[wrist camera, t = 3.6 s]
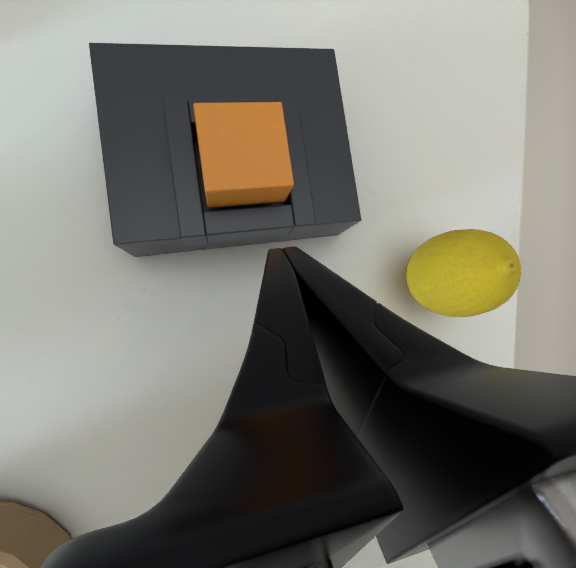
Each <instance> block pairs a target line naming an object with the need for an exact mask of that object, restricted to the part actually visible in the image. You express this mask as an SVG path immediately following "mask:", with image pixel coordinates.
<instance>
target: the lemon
mask: <svg viewBox="0 0 576 568" xmlns="http://www.w3.org/2000/svg"><path fill="white" fill-rule="evenodd" d="M520 277H521V265H520V260H519V258H518V255H517V253H516V252H515V250H514V249H513V247H512V246H511V245H510V244H509V243H508V242H507V241H505V240H504V239H503V238H501V237H499V236H498V235H496V234H494V233H491V232H487V231H482V230H475V229H468V230H454V231H449V232H446V233H443V234H440V235H437V236H435V237H433V238H431V239H429V240H428V241H426V242H425V243H424V244H422V245H421V246H420V247H419V248H418V249H417V250H416V251H415V253H414V254H413V255H412V256H411V258H410V261H409V263H408V266H407V272H406V279H407V285H408V288H409V290H410V292H411V294H412V296H413V297H414V298H415V299H416V301H417V302H418V303H419V304H420V305H422V306H423V307H425V308H426V309H428V310H430V311H432V312H435V313H438V314H441V315H445V316H451V317H468V316H474V315H478V314H482V313H485V312H489V311H492V310H494V309H496V308H498V307H499V306H501V305H502V304H504V303H505V302H506V301H508V300H509V298H510V297H511V296H512V295H513V294H514V292H515V291H516V289H517V287H518V285H519V281H520Z"/></svg>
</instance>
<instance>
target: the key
mask: <svg viewBox="0 0 576 568" xmlns="http://www.w3.org/2000/svg"><path fill="white" fill-rule="evenodd" d="M193 108H194V115H195V122H196V130H197V137H198V144H199V152H200V159H201V166H202V174H203V181H204V188H205V195H206V201H207V206H208V208H214V207H227V206H239V205H252V204H264V203H276V202H284V201H285V200H286V198H287V196H288V195H289V193H290V191H291V189H292V188H293V186H294V181H293V174H292V167H291V161H290V154H289V147H288V141H287V134H286V127H285V121H284V114H283V107H282V103H281V102H233V103H194V104H193Z"/></svg>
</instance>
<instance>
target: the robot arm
mask: <svg viewBox="0 0 576 568" xmlns="http://www.w3.org/2000/svg"><path fill="white" fill-rule="evenodd" d="M375 536H376V538H377V540H378V543H379V545H380V548H381V550H382V553H383V555H384V558H385V560H386V563H387V564H389V563H392V562H395V561H397V560H400V559H403V558H406V557H409V556H411V555H414V554H417V553H420V552H423V551H426V550H428V549H430V551H431V553H432V555H433V558H434V560H435V562H436V564H437V566H438V568H576V376H569V375H560V374H552V373H544V372H535V371H527V370H519V369H511V368H503V367H497V366H493V365H489V364H486V363H483V362H480V361H478V360H475V359H473V358H471V357H469V356H467V355H465V354H463V353H462V352H460V351H458V350H456V349H455V348H453V347H451V346H449V345H447V344H446V343H444V342H442V341H440V340H439V339H437V338H435V337H433V336H431V335H430V334H428V333H426V332H424V331H423V330H421V329H419V328H418V327H416V326H414V325H412V324H411V323H409V322H407V321H406V320H404V319H402V318H401V317H399V316H398V315H396V314H395V313H393V312H392V311H390V310H389V309H387V308H386V307H384V306H383V305H381V304H380V303H377V302H376V301H375V300H374V299H372V298H371V297H369V296H368V295H366V294H365V293H363V292H362V291H361V290H359V289H358V288H356V287H355V286H353V285H352V284H350V283H349V282H347V281H346V280H344V279H343V278H341V277H340V276H339V275H337V274H336V273H334V272H333V271H331V270H330V269H328V268H327V267H325V266H324V265H322V264H321V263H319V262H318V261H317V260H315V259H314V258H312V257H311V256H309V255H308V254H306V253H305V252H303V251H302V250H300V249H299V248H297V247H286V248H283V249H281V248H277V249H270V250H269V251H268V255H267V259H266V264H265V269H264V274H263V279H262V284H261V289H260V294H259V299H258V304H257V309H256V314H255V319H254V324H253V328H252V333H251V337H250V341H249V345H248V349H247V352H246V355H245V358H244V361H243V363H242V366H241V369H240V371H239V374H238V377H237V379H236V382H235V384H234V387H233V389H232V392H231V394H230V397H229V400H228V402H227V405H226V407H225V410H224V412H223V414H222V416H221V419H220V421H219V423H218V425H217V427H216V428H215V430H214V432H213V433H212V435H211V436H210V438H209V439H208V440H207V442H206V443H205V444H204V446H203V447H202V448H201V450H200V451H199V452H198V454H197V455H196V456H195V458H194V459H193V460H192V462H191V463H190V464H189V466H188V467H187V468H186V470H185V471H184V472H183V474H182V475H181V476H180V478H179V479H178V480H177V482H176V483H175V484H174V486H173V487H172V488H171V490H170V491H169V492H168V493H167V495H166V496H165V497H164V498H163V499H162V500H161V501H160V502H159V503H158V504H156V505H155V506H154V507H153V508H151V509H150V510H149V511H147V512H145V513H144V514H142V515H140V516H139V517H137V518H134V519H132V520H129V521H127V522H124V523H121V524H117V525H113V526H110V527H106V528H102V529H99V530H95V531H92V532H89V533H86V534H83V535H80V536H78V537H76V538H73V539H71V540H69V541H67V542H65V543H64V544H62V545H60V546H59V547H57V548H56V549H55V550H54V551H53V552H52V553H50V554H49V556H48V557H47V558H46V559H45V561H44V562H43V564H42V565H41V567H40V568H341V567H343V566H344V565H345V564H346V563H347V562H348V561H349V560H350V559H351V558H352V557H353V556H354V555H356V554H357V553H358V552H359V551H360V550H361V549H362V548H363V547H364V546H365V545H366V544H367V543H369V542H370V541H371V540H372V539H373V538H374V537H375Z"/></svg>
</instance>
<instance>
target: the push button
mask: <svg viewBox="0 0 576 568" xmlns="http://www.w3.org/2000/svg"><path fill="white" fill-rule="evenodd" d="M89 48H90V56H91V65H92V73H93V81H94V89H95V97H96V105H97V114H98V122H99V130H100V138H101V146H102V154H103V162H104V171H105V179H106V187H107V195H108V203H109V211H110V219H111V228H112V236H113V244H114V245H115V246H117V247H119V248H121V249H123V250H124V251H126V252H128V253H130V254H131V255H133V256H135V257H138V256H147V255H156V254H165V253H175V252H184V251H193V250H203V249H212V248H221V247H231V246H240V245H249V244H259V243H268V242H277V241H287V240H296V239H305V238H315V237H324V236H333V235H339V234H340V233H342V232H343V231H345V230H347V229H348V228H350V227H351V226H353V225H354V224H356V223H358V222H359V221H361V215H360V209H359V203H358V197H357V190H356V184H355V178H354V171H353V165H352V159H351V152H350V146H349V140H348V134H347V127H346V121H345V115H344V108H343V102H342V96H341V90H340V83H339V77H338V71H337V64H336V58H335V52H334V49H310V48H271V47H231V46H192V45H153V44H114V43H89ZM233 102H281V103H282V107H283V114H284V121H285V127H286V134H287V141H288V147H289V154H290V161H291V167H292V174H293V181H294V186H293V188H292V189H291V191H290V193H289V195H288V196H287V198H286V200H285V201H284V202H276V203H264V204H252V205H239V206H227V207H214V208H208V206H207V201H206V195H205V188H204V181H203V174H202V166H201V159H200V152H199V144H198V137H197V130H196V122H195V115H194V108H193V104H194V103H233Z"/></svg>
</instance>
